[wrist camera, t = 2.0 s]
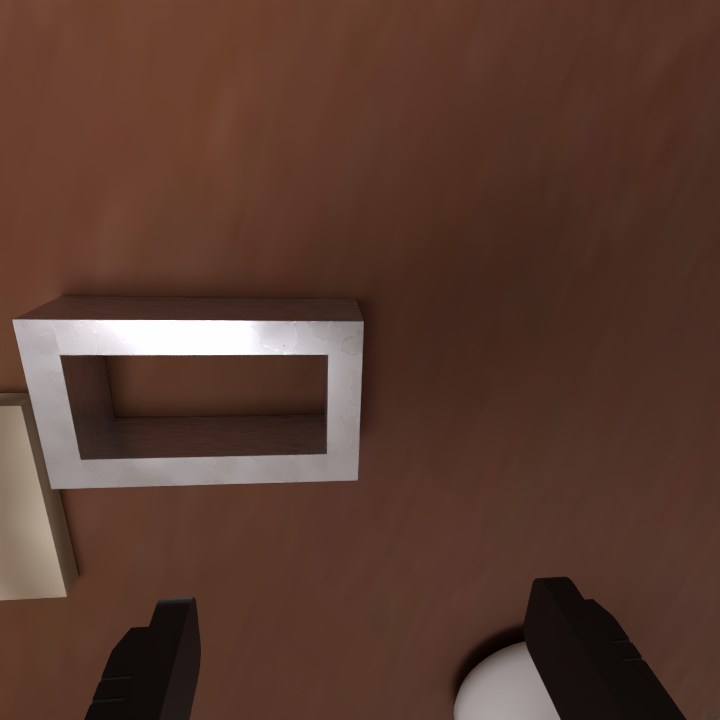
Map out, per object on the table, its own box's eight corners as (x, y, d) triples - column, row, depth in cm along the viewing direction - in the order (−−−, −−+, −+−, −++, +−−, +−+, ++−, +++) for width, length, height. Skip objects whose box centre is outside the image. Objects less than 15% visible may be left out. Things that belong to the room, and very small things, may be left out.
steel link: (355, 299, 24) (363, 321, 20) (350, 438, 27) (357, 480, 23) (60, 295, 23) (12, 319, 19) (88, 443, 26) (51, 489, 22)
